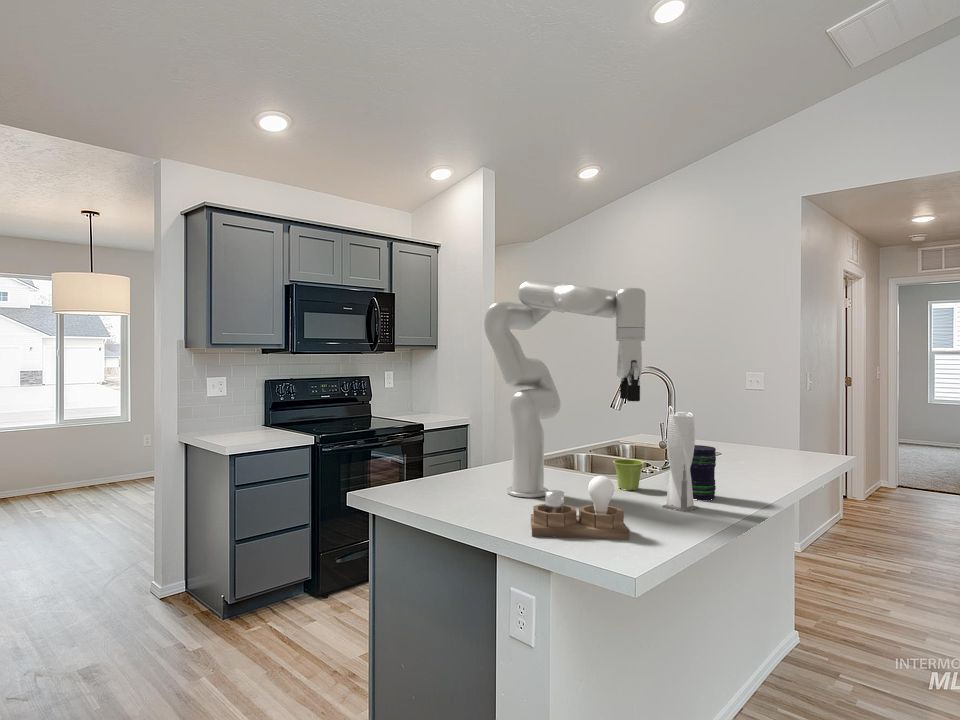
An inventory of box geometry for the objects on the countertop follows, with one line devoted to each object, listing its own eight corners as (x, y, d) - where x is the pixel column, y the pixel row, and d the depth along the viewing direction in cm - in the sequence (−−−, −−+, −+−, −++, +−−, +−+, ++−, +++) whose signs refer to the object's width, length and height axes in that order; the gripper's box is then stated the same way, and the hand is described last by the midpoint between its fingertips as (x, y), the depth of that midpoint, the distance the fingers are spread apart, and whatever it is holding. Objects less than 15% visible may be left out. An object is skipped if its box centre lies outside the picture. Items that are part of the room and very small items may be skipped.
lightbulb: (582, 521, 141) (583, 475, 141) (597, 517, 145) (597, 472, 145) (604, 527, 136) (605, 479, 136) (618, 522, 141) (619, 476, 141)
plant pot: (638, 493, 181) (638, 465, 181) (608, 489, 186) (609, 462, 186) (647, 488, 189) (647, 461, 189) (618, 484, 194) (618, 458, 194)
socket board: (530, 522, 147) (530, 502, 147) (619, 524, 146) (619, 504, 146) (532, 536, 135) (532, 514, 135) (629, 539, 134) (629, 517, 134)
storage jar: (704, 502, 170) (704, 450, 170) (674, 496, 178) (674, 446, 178) (721, 497, 177) (722, 447, 177) (691, 491, 184) (692, 444, 184)
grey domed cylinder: (544, 518, 143) (545, 489, 143) (563, 519, 143) (563, 490, 143) (545, 523, 139) (546, 493, 139) (564, 524, 139) (564, 494, 139)
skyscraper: (658, 506, 166) (659, 406, 166) (673, 501, 171) (675, 405, 171) (685, 512, 159) (686, 408, 159) (701, 507, 164) (702, 407, 164)
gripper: (610, 336, 165) (610, 397, 165) (621, 333, 147) (621, 402, 147) (638, 336, 164) (637, 398, 164) (652, 333, 147) (651, 402, 147)
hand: (629, 399), depth 156 cm, fingers open, 9 cm apart
